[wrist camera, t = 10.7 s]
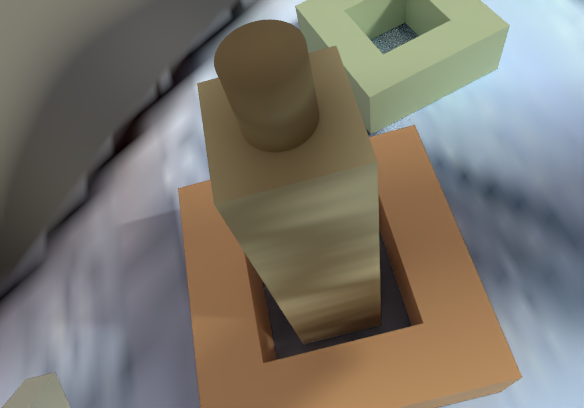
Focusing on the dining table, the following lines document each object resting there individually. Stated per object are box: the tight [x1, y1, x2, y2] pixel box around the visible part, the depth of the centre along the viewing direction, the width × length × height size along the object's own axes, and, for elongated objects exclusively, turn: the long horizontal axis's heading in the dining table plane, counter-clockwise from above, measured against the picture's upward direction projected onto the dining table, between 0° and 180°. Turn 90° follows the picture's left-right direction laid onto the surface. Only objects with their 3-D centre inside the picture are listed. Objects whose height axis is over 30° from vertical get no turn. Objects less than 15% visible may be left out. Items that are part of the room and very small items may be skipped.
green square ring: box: [295, 0, 510, 134], centre depth 27 cm, size 8×8×3 cm
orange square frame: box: [178, 125, 522, 408], centre depth 21 cm, size 11×11×4 cm
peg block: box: [197, 20, 381, 344], centre depth 16 cm, size 4×4×15 cm
